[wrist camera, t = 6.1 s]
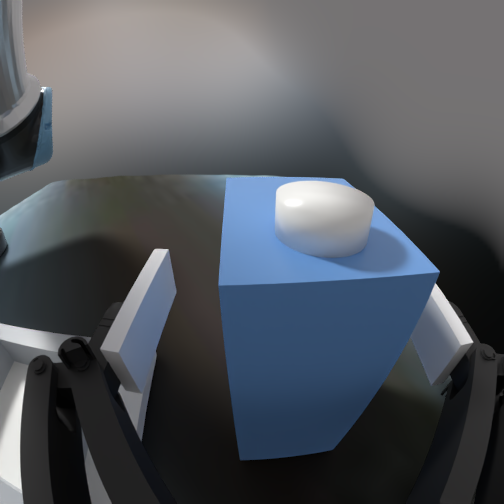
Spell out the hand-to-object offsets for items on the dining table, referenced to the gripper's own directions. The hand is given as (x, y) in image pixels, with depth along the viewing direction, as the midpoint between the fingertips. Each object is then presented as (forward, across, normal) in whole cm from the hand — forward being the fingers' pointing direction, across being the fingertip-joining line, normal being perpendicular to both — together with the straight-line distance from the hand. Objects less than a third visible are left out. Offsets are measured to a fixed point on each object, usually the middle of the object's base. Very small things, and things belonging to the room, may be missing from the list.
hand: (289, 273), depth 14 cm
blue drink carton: (-4, 0, -7) cm, 8 cm away
